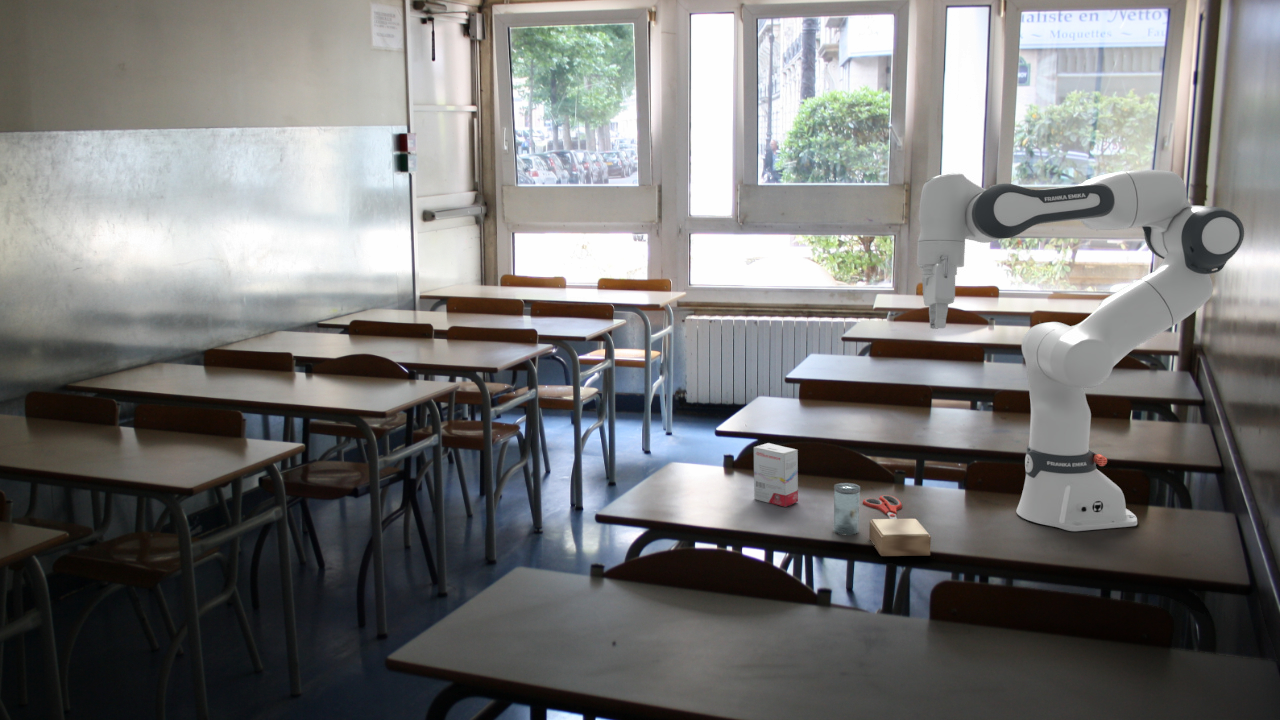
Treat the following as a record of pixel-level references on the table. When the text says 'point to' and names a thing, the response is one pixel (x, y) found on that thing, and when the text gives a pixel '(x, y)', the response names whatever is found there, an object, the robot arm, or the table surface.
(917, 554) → the beige box
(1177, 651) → the table surface
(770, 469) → the ink box
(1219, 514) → the table surface
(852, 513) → the translucent jar
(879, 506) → the scissors
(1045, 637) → the table surface
